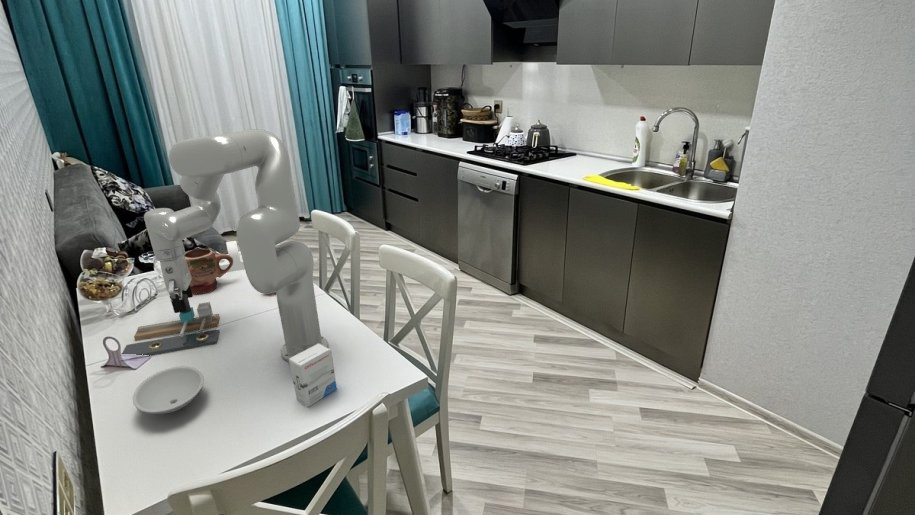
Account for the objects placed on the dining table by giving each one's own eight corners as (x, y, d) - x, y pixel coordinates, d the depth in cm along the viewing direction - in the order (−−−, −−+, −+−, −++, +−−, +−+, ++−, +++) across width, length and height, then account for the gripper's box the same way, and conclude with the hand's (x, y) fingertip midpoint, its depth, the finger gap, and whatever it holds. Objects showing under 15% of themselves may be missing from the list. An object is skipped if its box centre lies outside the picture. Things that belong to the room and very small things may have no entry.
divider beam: (214, 339, 137) (209, 319, 135) (127, 354, 131) (121, 334, 128) (220, 317, 149) (215, 299, 146) (140, 330, 142) (134, 312, 140)
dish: (138, 395, 114) (132, 378, 112) (204, 375, 121) (199, 358, 119) (138, 440, 100) (131, 421, 98) (212, 414, 107) (207, 396, 105)
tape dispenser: (261, 266, 188) (256, 241, 183) (212, 276, 180) (205, 249, 176) (259, 258, 195) (254, 234, 191) (211, 267, 188) (205, 242, 184)
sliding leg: (188, 337, 134) (180, 310, 131) (176, 340, 134) (168, 312, 130) (195, 318, 145) (188, 292, 142) (184, 319, 144) (177, 294, 141)
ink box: (325, 381, 117) (319, 341, 113) (337, 389, 114) (331, 348, 110) (295, 399, 111) (287, 357, 106) (307, 408, 108) (299, 365, 104)
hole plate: (216, 343, 134) (215, 340, 134) (120, 361, 128) (118, 357, 127) (219, 331, 141) (218, 328, 140) (127, 347, 134) (126, 344, 133)
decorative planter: (235, 275, 179) (228, 241, 174) (239, 287, 169) (232, 251, 164) (176, 288, 170) (166, 252, 165) (176, 301, 160) (166, 264, 155)
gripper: (178, 260, 128) (192, 315, 134) (189, 240, 143) (202, 290, 149) (146, 264, 126) (163, 320, 132) (161, 243, 141) (176, 294, 147)
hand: (184, 304), depth 141 cm, fingers open, 9 cm apart
